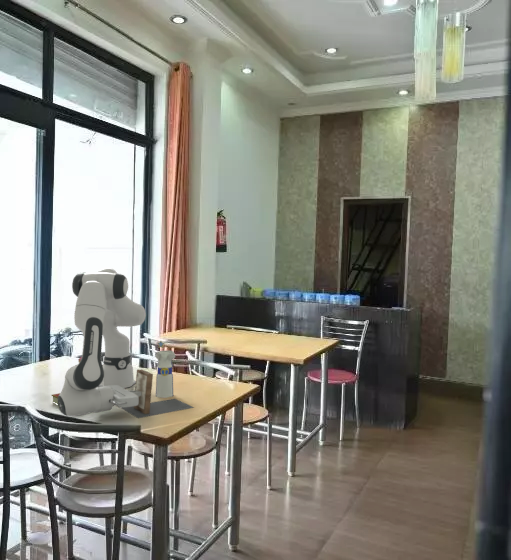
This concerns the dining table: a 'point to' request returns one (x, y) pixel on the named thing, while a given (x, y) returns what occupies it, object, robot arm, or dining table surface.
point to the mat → (159, 408)
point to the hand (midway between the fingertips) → (139, 392)
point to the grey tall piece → (164, 373)
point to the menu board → (144, 390)
